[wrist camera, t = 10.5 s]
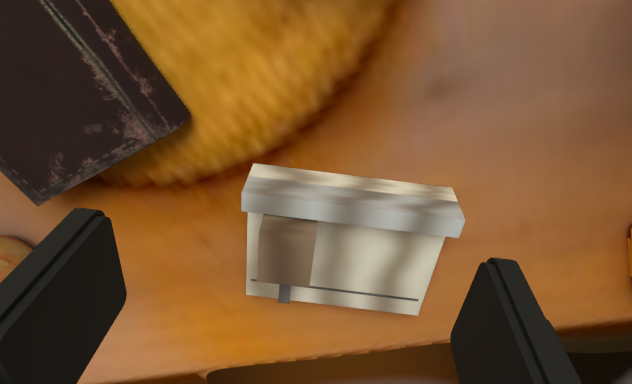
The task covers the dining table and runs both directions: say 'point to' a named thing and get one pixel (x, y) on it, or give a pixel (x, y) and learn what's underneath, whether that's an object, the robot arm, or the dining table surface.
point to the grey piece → (355, 235)
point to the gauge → (286, 252)
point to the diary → (75, 94)
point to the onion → (11, 254)
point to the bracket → (630, 253)
